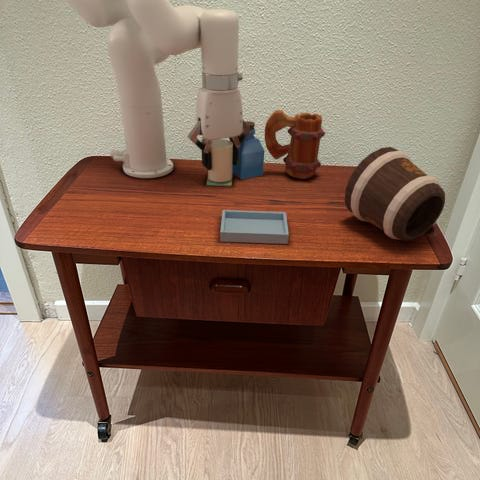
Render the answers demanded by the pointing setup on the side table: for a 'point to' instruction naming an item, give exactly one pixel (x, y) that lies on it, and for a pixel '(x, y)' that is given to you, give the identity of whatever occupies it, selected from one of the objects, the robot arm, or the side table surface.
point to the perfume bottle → (249, 156)
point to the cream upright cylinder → (221, 160)
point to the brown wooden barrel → (394, 194)
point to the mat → (219, 183)
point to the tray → (254, 227)
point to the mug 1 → (296, 142)
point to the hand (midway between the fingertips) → (220, 165)
